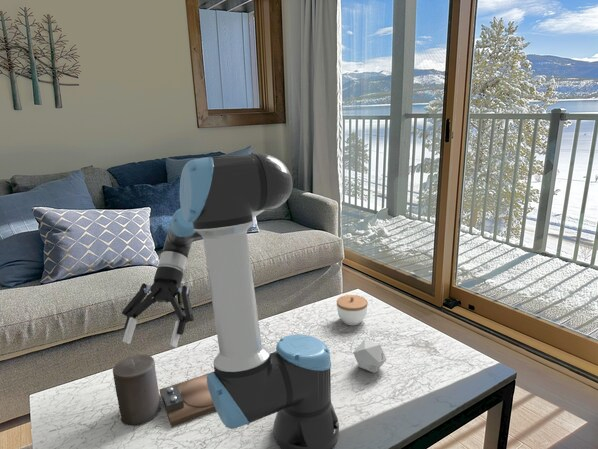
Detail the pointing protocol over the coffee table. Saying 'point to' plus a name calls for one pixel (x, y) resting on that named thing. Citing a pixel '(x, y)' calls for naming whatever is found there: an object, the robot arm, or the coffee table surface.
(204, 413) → the board
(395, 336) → the coffee table surface
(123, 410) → the pillar candle
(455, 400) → the coffee table surface
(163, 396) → the dark grey studded block
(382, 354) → the die
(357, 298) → the lidded jar
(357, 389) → the coffee table surface
